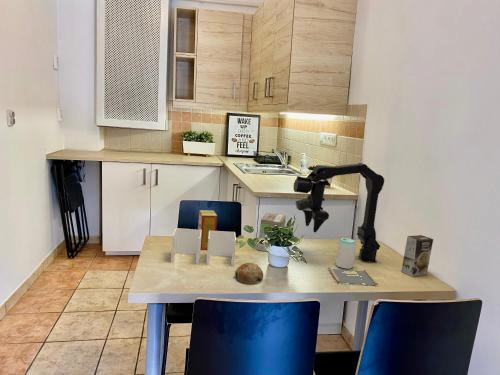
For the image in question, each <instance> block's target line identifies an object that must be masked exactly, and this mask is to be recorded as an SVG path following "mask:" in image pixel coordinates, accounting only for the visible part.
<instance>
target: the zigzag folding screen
mask: <svg viewBox="0 0 500 375" xmlns="http://www.w3.org/2000/svg"><path fill="white" fill-rule="evenodd" d="M201 234H202V230H198V229H193V228H192V229H190V228H176V227H175V229H174V231H173V233H172V237H171V251H170V252H171V254H170V263H174V262H175V254H181V255H182V254H183V255H195V258H196V259H195V264H196V265H199V263H200V257H201V250H200V248H201ZM236 245H237V238H236V232H235V231H223V230H222V231H220V230H216V231H209V237H208V249H207V250H206V251H207V252H206V261H205V262H206V265H210V260H211V258H210V257H211V256H215V257H229V258H231V262H230V267H234V266H235V256H236Z"/></svg>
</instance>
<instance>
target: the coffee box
mask: <svg viewBox="0 0 500 375" xmlns="http://www.w3.org/2000/svg"><path fill="white" fill-rule="evenodd" d="M406 237H407V238H406V243H405V248H404V254H403V258H402V259H403V260H402V266H401V269H400V270H401V273H404V274H405V275H408V276H410V277H412V278H414V277H421V276H427V275H428V270H429V264H430V260H431V255H432V254H431V253H432V248H433V243H434V238H432V237H428V236H425V235H423V234H420V235H419V234H418V235H407V236H406Z"/></svg>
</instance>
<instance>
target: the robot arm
mask: <svg viewBox="0 0 500 375" xmlns="http://www.w3.org/2000/svg"><path fill="white" fill-rule="evenodd" d="M355 174H360V175H361V177H363V178H364V180H365V188H366V192H367V194H366V201H365V207H364V217H363V220H362V221H363V222H362V223H361V226H357V233H356V235H357V238H358V240H359V241H360V244H361V248H359V254H358V257H359V259H360V260H361V262H365V263H366V262H367V263H377V260H376V259H377V252H378V251H379V250H380V248H381V245H380V243H379V242H378V241H377V232H376V228H375V221H376V220H375V219H376V213H377V208H378V199H379V194H380V193H381V191H382V190H383V187H384V184H385V177H384V176H383V175H381V174H378V173H376V172H375V171H374V170H373V169H371V167H370V166H368V165H367V164H365V163H363V162H358V163H352V164H343V165H342V164H340V165H324V164H323V165H322V164H317V165H315V166H314V167H313V169H312V171H311V172H310V173H309V175H307V177H306V176H305V177H304V176H303V177H302V176H299V175H297V176H296V178H295V181H294V182H293V191H294V192H295V193H302V194H308V195H307V197H306V198H303V199H299V200H296V201H295V206H296V209H297V210H298V211H302V212H303V214H304V219H305V222H304V223H305V227H309V226H310V224H311V222H312V220H313V233H317V232H318V230H319V229H320V228H321V226H322V225H323V224H324V223H325V221H327V220H329V218H330V214H329V212H327V211H326V210H323V209H324V207H323V202H324V201H325V198H324V197H325V196H324V195H325V190H326V186H327V187H330V186H331V183H330V182H329V181H328V180H330V179H332V178H334V177H336V176H343V175H346V176H347V175H355ZM309 193H310V194H309Z"/></svg>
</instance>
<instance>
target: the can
mask: <svg viewBox="0 0 500 375" xmlns="http://www.w3.org/2000/svg"><path fill="white" fill-rule="evenodd" d="M355 242H356V241H355V240H354V239H352V238H349V237H342V238H340V240H339V241H338V246H337V252H336V261H335V262H336V263H335V265H336V266H337V267H338V268H339V267H341V268H340V269H342V268H345V269H344V270H351V269H353V266H354V261H355V260H354V259H355V252H356V246H357V244H356V243H355Z"/></svg>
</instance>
